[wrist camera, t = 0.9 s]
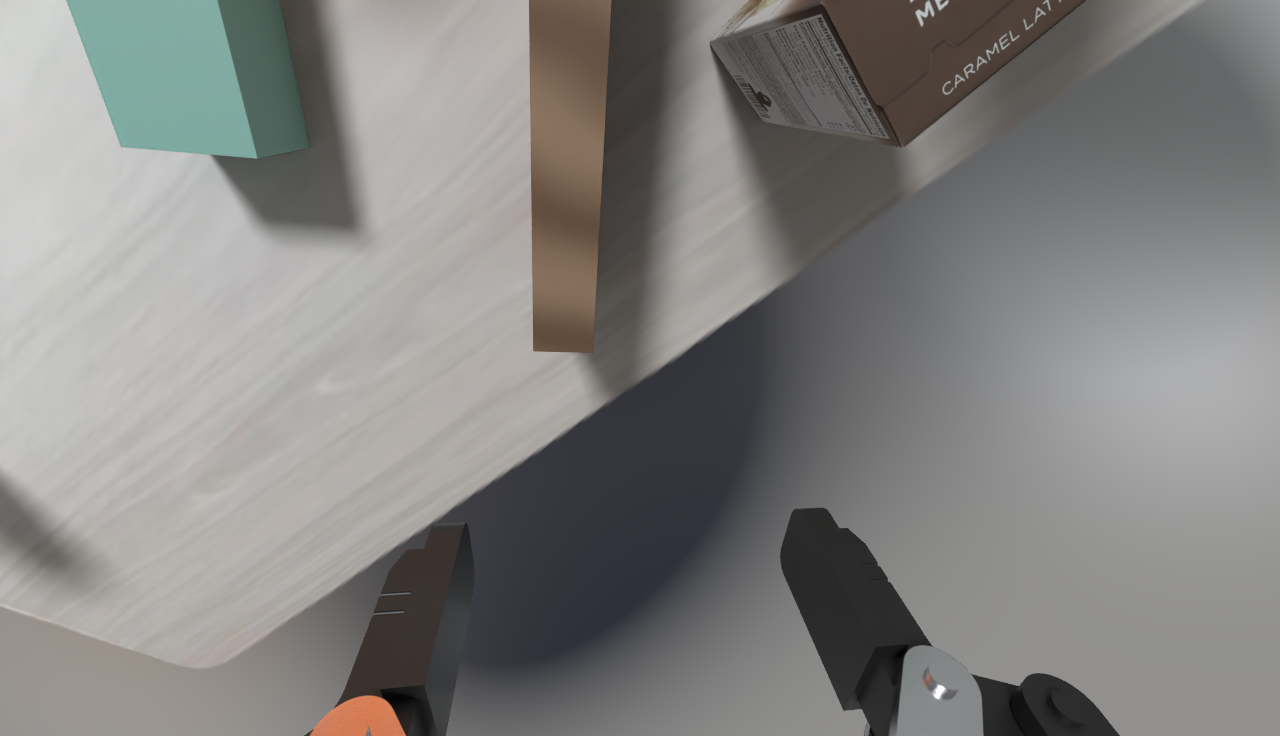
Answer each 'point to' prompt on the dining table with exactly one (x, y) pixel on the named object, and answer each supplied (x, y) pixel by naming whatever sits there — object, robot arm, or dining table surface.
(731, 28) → the coffee box
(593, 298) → the walnut board
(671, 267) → the dining table surface
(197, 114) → the green block
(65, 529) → the dining table surface
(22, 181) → the dining table surface
